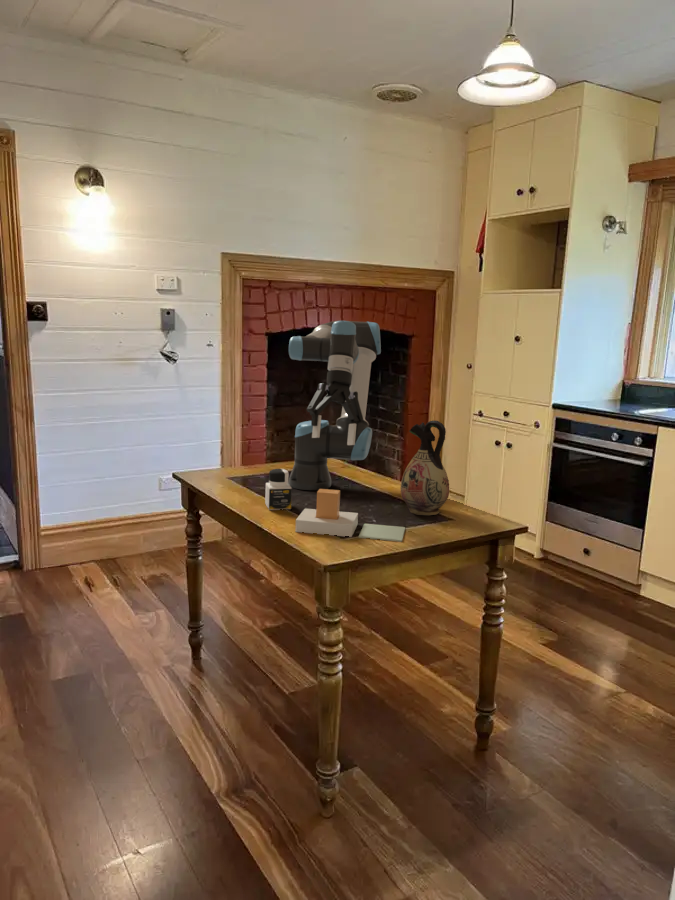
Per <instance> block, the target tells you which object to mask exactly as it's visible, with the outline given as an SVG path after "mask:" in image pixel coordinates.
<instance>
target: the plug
mask: <svg viewBox="0 0 675 900" xmlns="http://www.w3.org/2000/svg"><path fill="white" fill-rule="evenodd" d="M340 501H341V490H339V489H329V488H327V489H319V490H317V491H316V518H324V519H335V520H338V518H339V511H340V503H341V502H340Z"/></svg>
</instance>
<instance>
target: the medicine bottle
mask: <svg viewBox="0 0 675 900" xmlns="http://www.w3.org/2000/svg"><path fill="white" fill-rule="evenodd" d="M289 473H290V472H289V471H288V470H286V469H285V468H272V469H271V470H270V471H269V472H268V482H265V491H264V493H265V499H264V503H265V505H266V507H267V509H268V511H280V509H282V510H283V509H286V510H291V509H292V495H293V494H292V493H293V487H291V486H290V485H289V476H290V475H289ZM282 510H281V511H282Z"/></svg>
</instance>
